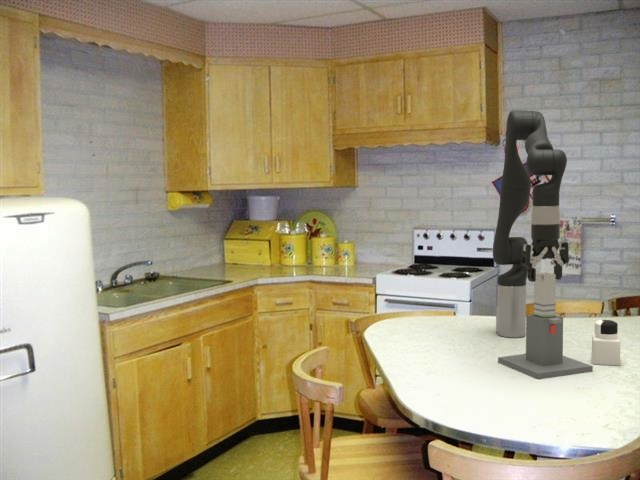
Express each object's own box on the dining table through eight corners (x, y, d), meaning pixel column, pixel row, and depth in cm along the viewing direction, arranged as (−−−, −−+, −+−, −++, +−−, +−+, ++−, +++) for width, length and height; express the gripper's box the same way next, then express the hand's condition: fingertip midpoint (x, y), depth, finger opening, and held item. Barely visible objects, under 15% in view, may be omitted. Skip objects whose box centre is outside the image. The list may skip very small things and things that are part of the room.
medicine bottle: (617, 359, 197) (618, 319, 196) (620, 366, 191) (620, 324, 190) (591, 358, 200) (592, 317, 199) (592, 364, 193) (593, 322, 192)
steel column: (533, 338, 192) (534, 273, 190) (545, 336, 193) (546, 272, 192) (542, 341, 188) (543, 275, 186) (555, 339, 190) (555, 274, 188)
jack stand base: (498, 362, 197) (498, 313, 196) (549, 355, 203) (549, 307, 202) (538, 379, 180) (538, 325, 179) (592, 371, 186) (593, 319, 185)
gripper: (557, 220, 194) (556, 276, 195) (515, 222, 189) (515, 280, 190) (575, 222, 187) (574, 280, 188) (532, 224, 182) (532, 284, 183)
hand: (544, 280), depth 189 cm, fingers open, 8 cm apart
